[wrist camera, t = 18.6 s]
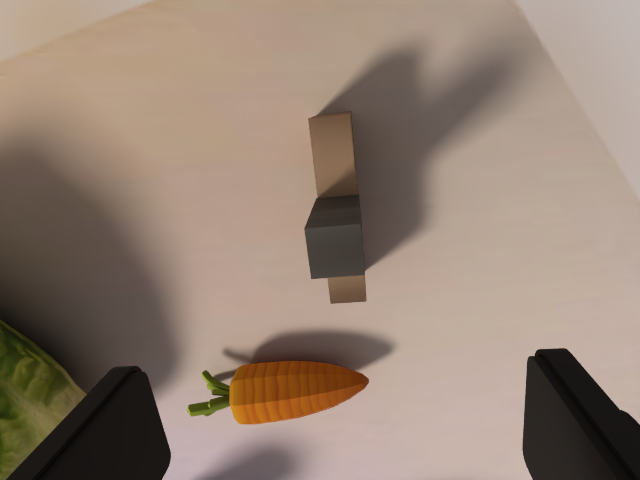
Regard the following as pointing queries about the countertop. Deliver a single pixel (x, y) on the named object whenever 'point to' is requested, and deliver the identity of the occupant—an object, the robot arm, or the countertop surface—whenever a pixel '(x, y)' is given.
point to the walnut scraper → (336, 210)
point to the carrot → (281, 390)
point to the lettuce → (29, 397)
